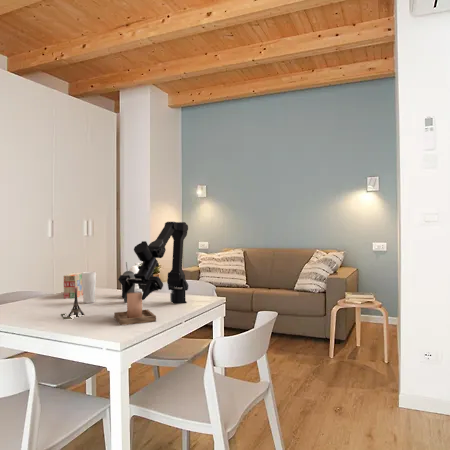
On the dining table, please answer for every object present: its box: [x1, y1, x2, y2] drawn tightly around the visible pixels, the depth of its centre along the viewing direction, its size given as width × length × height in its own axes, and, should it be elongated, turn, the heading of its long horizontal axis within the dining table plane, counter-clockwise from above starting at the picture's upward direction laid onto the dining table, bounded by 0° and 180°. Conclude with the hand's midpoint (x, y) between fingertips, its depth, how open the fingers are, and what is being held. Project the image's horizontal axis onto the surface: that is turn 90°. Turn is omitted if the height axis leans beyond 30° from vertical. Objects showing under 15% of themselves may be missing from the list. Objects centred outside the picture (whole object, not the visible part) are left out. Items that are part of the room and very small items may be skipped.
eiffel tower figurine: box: [60, 288, 86, 320], centre depth 169 cm, size 15×10×13 cm
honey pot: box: [128, 262, 143, 295], centre depth 215 cm, size 13×13×18 cm
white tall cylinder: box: [81, 271, 97, 304], centre depth 199 cm, size 7×7×15 cm
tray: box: [113, 309, 157, 326], centre depth 162 cm, size 14×14×2 cm
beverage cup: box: [122, 261, 135, 304], centre depth 199 cm, size 7×7×20 cm
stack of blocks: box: [63, 272, 83, 299], centre depth 222 cm, size 21×6×12 cm, turn 179°
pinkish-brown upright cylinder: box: [126, 292, 143, 318], centre depth 162 cm, size 6×6×10 cm
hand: (132, 298), depth 160 cm, fingers open, 9 cm apart
